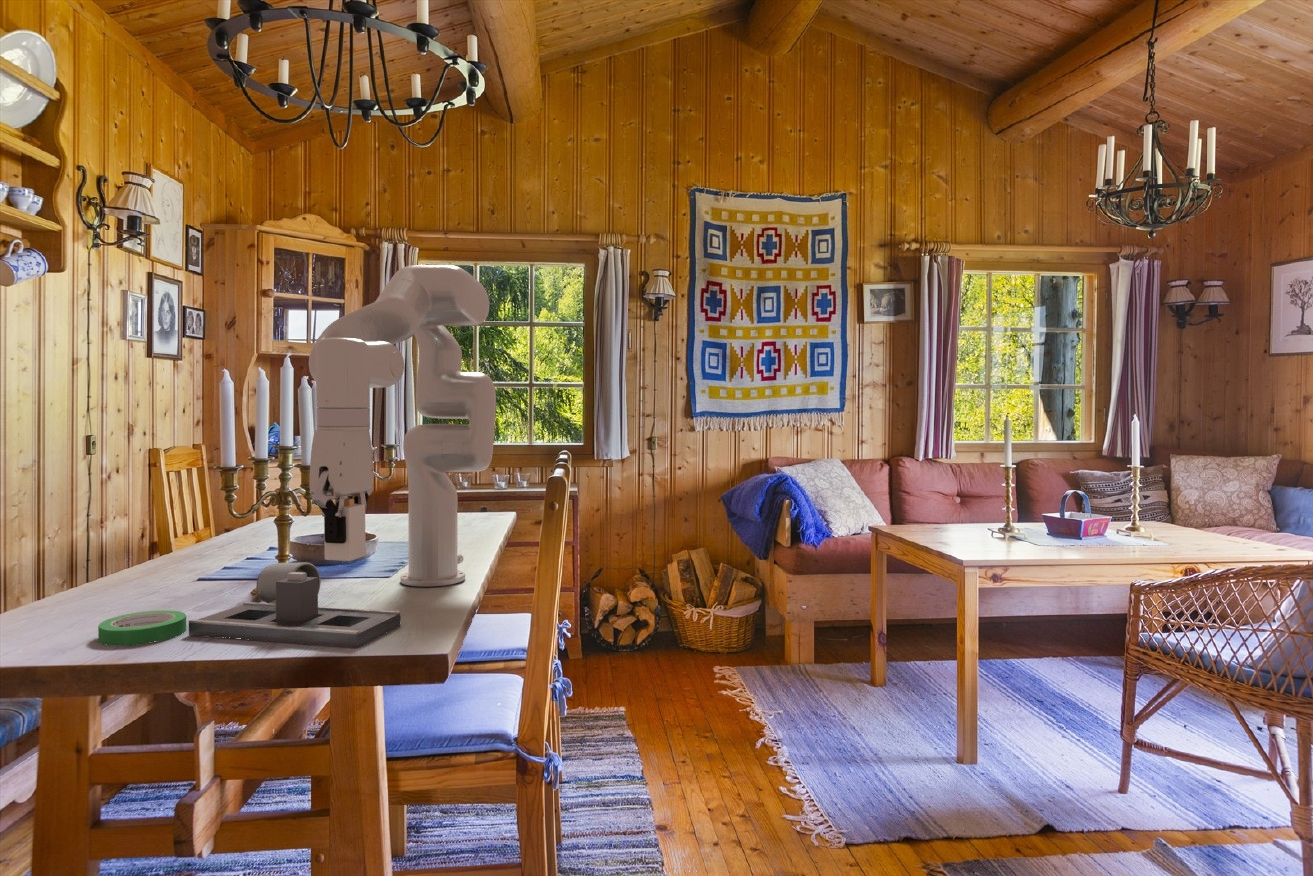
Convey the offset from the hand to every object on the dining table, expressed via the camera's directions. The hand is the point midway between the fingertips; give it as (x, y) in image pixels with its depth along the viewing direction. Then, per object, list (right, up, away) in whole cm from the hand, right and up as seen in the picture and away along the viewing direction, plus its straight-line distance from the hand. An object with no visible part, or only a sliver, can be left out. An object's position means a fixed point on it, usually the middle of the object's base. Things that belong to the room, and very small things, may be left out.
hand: (345, 538), depth 118 cm
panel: (-8, -14, +1) cm, 17 cm away
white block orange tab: (0, -3, 0) cm, 3 cm away
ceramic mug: (-17, -14, +16) cm, 28 cm away
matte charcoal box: (-8, -15, +1) cm, 17 cm away
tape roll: (-30, -15, -1) cm, 33 cm away
